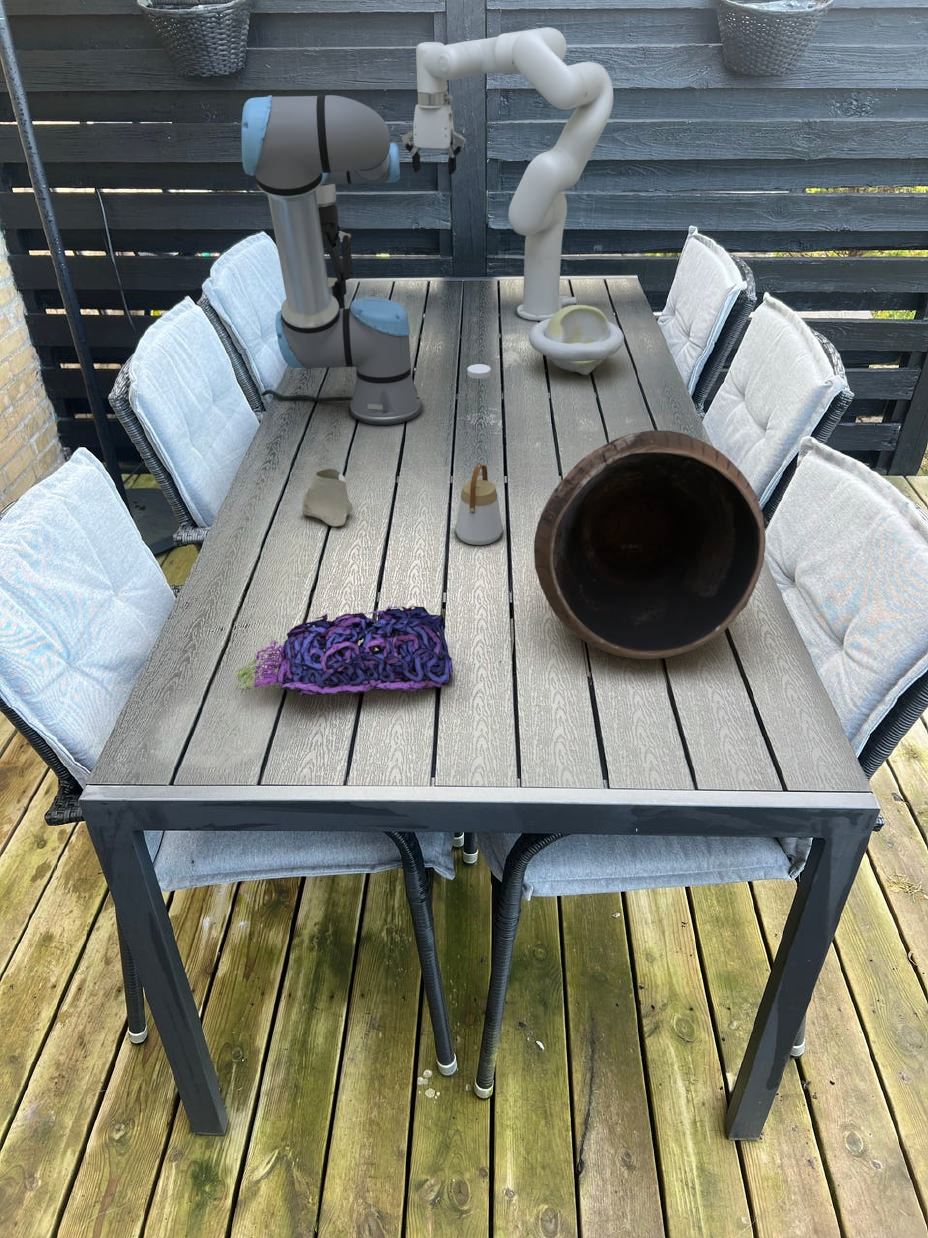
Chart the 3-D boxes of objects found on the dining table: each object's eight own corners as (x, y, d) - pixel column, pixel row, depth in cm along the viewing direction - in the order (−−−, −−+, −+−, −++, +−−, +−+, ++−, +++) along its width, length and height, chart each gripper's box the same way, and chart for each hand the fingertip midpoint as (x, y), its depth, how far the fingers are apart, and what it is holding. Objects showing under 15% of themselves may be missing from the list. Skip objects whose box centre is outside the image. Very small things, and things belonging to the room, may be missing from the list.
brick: (335, 326, 220) (331, 286, 215) (316, 324, 222) (311, 284, 216) (346, 317, 225) (342, 278, 220) (327, 315, 227) (323, 276, 221)
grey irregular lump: (352, 523, 169) (358, 468, 167) (345, 530, 162) (351, 474, 159) (303, 516, 169) (308, 461, 167) (294, 523, 162) (299, 466, 159)
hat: (520, 351, 228) (521, 289, 219) (607, 347, 230) (612, 285, 221) (537, 392, 209) (540, 327, 200) (632, 387, 211) (639, 322, 202)
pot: (569, 390, 148) (614, 390, 119) (739, 473, 153) (822, 494, 124) (483, 572, 154) (505, 616, 125) (649, 647, 159) (708, 705, 130)
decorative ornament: (458, 672, 122) (225, 684, 119) (455, 713, 130) (238, 725, 128) (450, 592, 130) (231, 602, 127) (447, 636, 138) (243, 646, 135)
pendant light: (493, 549, 158) (495, 382, 140) (448, 540, 161) (445, 375, 142) (508, 525, 164) (512, 362, 146) (465, 517, 167) (463, 355, 148)
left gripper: (363, 201, 208) (370, 305, 222) (290, 197, 213) (302, 299, 227) (350, 209, 203) (358, 315, 216) (276, 204, 207) (288, 309, 221)
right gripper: (469, 98, 237) (469, 171, 248) (405, 95, 241) (408, 167, 252) (460, 102, 231) (461, 177, 242) (395, 100, 236) (398, 173, 246)
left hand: (329, 307), depth 221 cm, fingers closed on brick, 5 cm apart
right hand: (434, 172), depth 247 cm, fingers open, 9 cm apart
